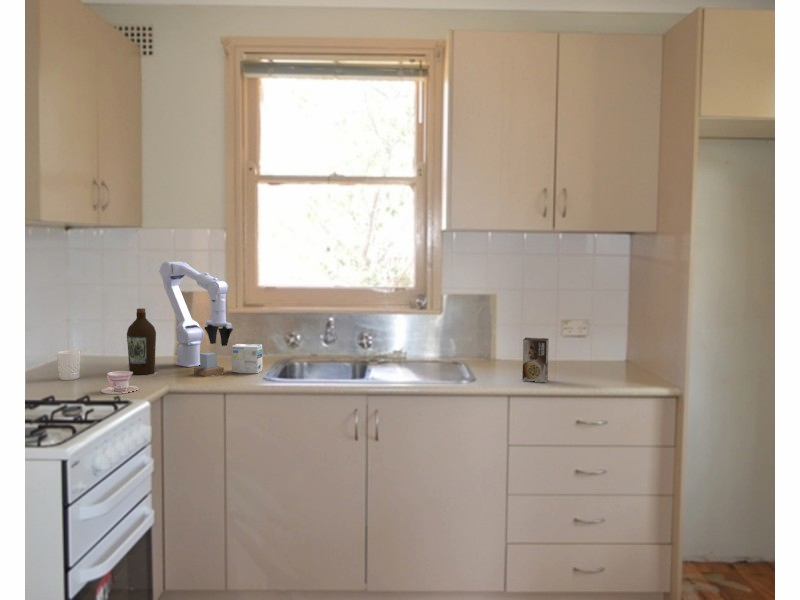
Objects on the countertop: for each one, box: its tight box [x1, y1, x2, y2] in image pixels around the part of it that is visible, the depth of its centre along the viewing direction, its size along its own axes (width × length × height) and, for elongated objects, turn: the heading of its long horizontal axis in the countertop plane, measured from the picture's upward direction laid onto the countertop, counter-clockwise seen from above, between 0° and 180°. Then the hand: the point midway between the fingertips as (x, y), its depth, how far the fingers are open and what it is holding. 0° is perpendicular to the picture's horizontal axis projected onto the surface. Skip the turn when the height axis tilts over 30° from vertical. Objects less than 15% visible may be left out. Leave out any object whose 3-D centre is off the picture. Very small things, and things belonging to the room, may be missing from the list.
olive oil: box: [126, 307, 157, 376], centre depth 272 cm, size 11×11×25 cm
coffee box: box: [521, 337, 549, 384], centre depth 266 cm, size 9×6×16 cm
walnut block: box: [193, 365, 225, 377], centre depth 272 cm, size 8×8×3 cm
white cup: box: [56, 349, 81, 381], centre depth 260 cm, size 8×8×10 cm
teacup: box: [100, 370, 140, 395], centre depth 241 cm, size 12×12×6 cm
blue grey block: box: [199, 351, 218, 369], centre depth 272 cm, size 4×4×6 cm
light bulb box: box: [231, 343, 263, 374], centre depth 277 cm, size 11×7×11 cm, turn 84°
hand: (218, 344), depth 282 cm, fingers open, 7 cm apart
